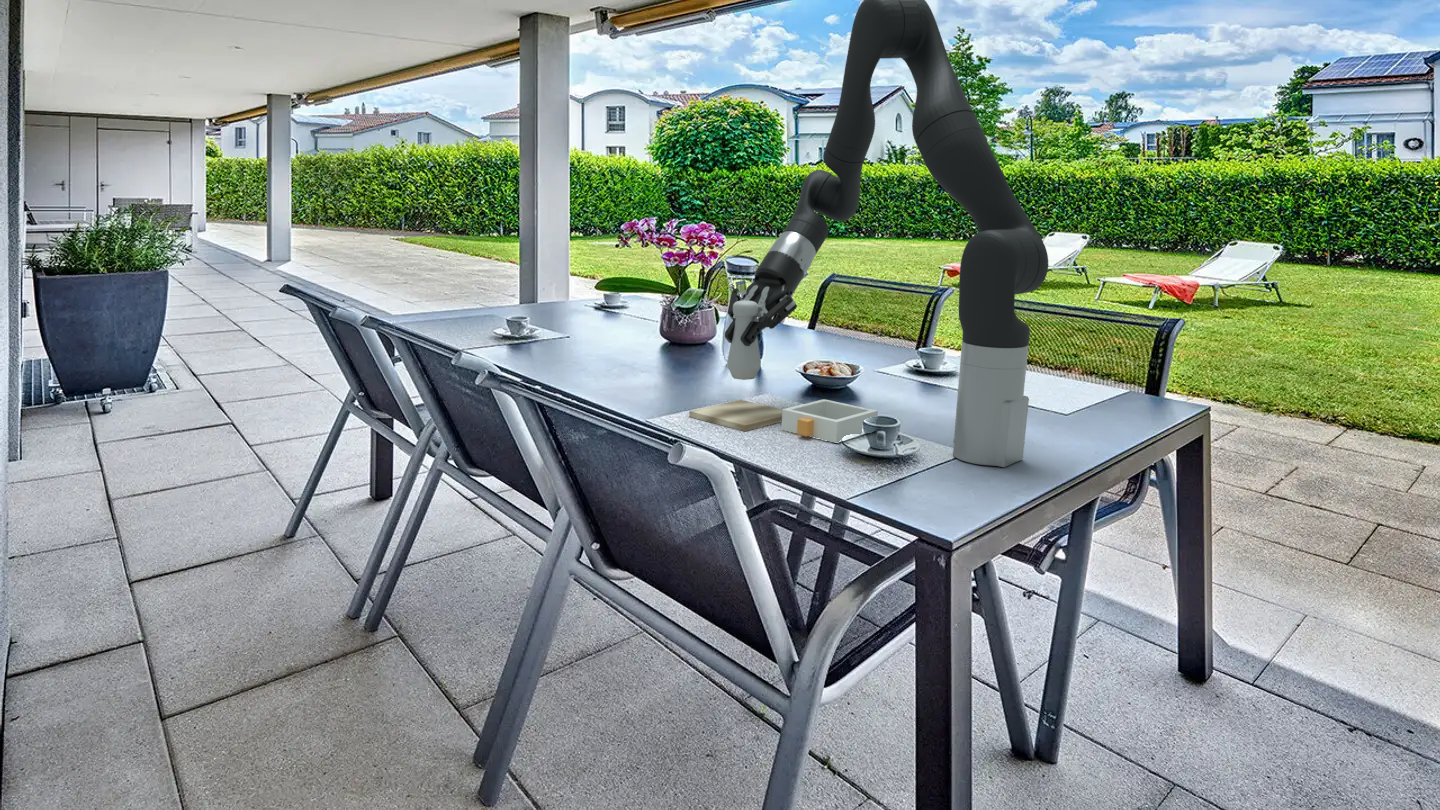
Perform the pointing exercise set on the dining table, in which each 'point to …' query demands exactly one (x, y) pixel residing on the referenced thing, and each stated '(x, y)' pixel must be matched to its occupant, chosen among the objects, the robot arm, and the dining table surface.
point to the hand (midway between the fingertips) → (736, 341)
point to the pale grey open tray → (825, 419)
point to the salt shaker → (743, 357)
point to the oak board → (739, 415)
